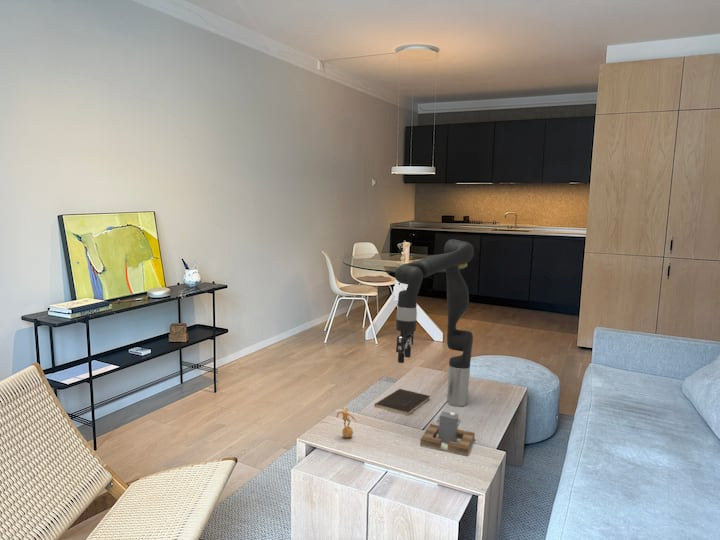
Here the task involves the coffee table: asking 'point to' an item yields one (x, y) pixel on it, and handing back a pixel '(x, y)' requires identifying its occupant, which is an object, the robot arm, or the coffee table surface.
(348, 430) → the figurine
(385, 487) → the coffee table surface
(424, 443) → the walnut plate
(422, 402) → the hardcover book
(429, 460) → the coffee table surface
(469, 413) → the coffee table surface
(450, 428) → the block
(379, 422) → the coffee table surface
